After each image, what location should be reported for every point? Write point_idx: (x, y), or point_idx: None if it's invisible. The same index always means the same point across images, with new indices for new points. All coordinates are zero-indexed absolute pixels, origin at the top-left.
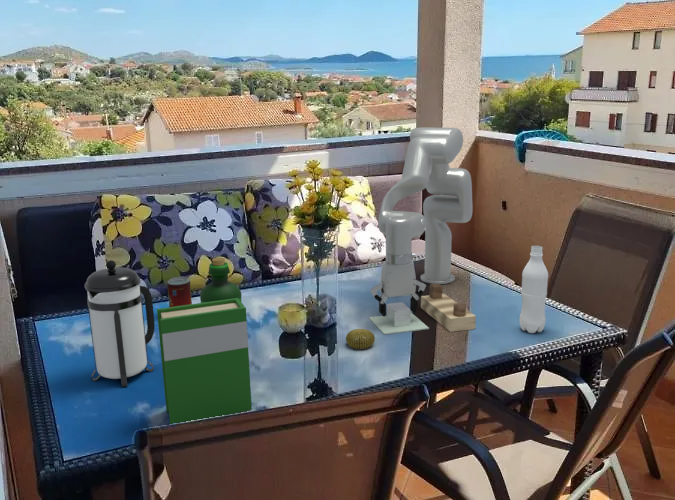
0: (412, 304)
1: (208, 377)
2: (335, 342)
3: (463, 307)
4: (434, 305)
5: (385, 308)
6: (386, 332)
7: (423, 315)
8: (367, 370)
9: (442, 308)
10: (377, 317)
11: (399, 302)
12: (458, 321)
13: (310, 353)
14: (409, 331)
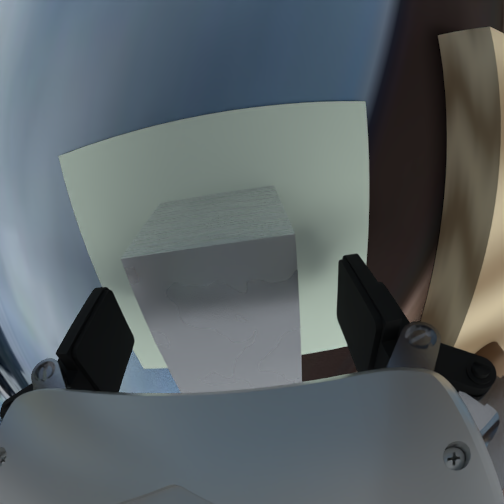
0: (354, 334)
1: None
2: (18, 365)
3: None
4: (492, 242)
5: (118, 382)
6: (153, 364)
7: (418, 157)
8: None
9: (489, 294)
10: (104, 162)
11: (263, 239)
12: None
13: (4, 390)
14: None
